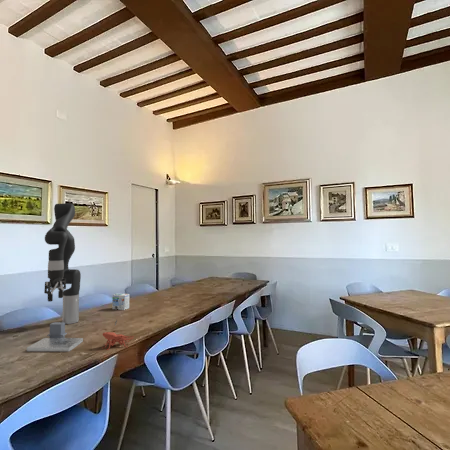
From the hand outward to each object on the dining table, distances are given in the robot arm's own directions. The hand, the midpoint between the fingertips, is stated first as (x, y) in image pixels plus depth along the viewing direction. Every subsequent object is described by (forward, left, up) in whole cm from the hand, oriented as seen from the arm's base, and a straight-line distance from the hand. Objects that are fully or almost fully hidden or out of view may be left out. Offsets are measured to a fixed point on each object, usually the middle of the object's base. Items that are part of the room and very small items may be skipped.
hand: (55, 299), depth 166 cm
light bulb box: (-71, +11, -21) cm, 75 cm away
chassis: (+11, +7, -21) cm, 24 cm away
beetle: (+9, +37, -21) cm, 43 cm away
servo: (-1, +1, -21) cm, 21 cm away
